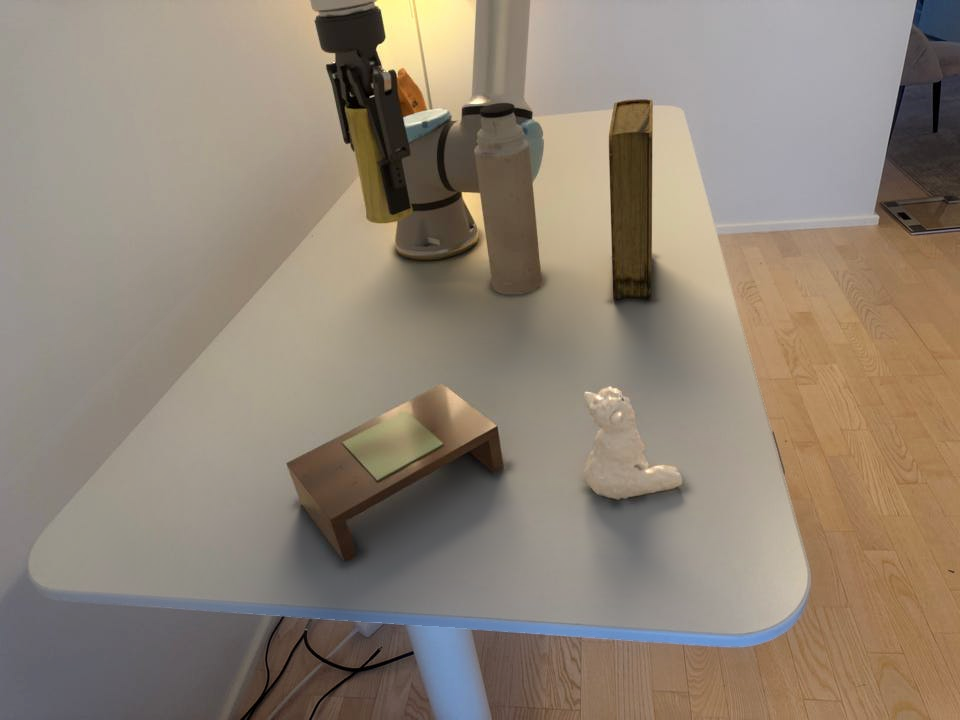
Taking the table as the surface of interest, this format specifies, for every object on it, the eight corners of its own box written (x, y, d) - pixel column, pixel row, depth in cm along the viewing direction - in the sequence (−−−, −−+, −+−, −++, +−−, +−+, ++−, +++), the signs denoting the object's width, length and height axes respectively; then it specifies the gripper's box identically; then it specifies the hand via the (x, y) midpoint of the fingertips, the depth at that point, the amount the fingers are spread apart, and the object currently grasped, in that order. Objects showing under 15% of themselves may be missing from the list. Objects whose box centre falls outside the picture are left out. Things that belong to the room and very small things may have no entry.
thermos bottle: (504, 269, 120) (483, 98, 105) (548, 273, 117) (533, 97, 102) (484, 292, 115) (459, 114, 99) (530, 297, 111) (511, 114, 96)
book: (618, 254, 120) (614, 101, 106) (651, 253, 118) (652, 98, 105) (613, 303, 107) (608, 135, 93) (651, 303, 105) (652, 132, 92)
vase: (367, 209, 96) (342, 100, 88) (412, 202, 96) (391, 92, 88) (365, 227, 91) (338, 113, 83) (413, 219, 91) (390, 105, 83)
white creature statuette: (686, 486, 74) (690, 393, 67) (623, 526, 71) (621, 432, 64) (623, 441, 81) (621, 353, 74) (563, 475, 78) (555, 386, 71)
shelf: (300, 503, 79) (285, 461, 76) (450, 423, 88) (442, 381, 84) (344, 562, 71) (329, 518, 68) (503, 467, 80) (497, 424, 77)
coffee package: (389, 181, 165) (369, 82, 153) (402, 163, 175) (384, 68, 163) (431, 178, 163) (413, 77, 151) (442, 160, 173) (426, 64, 161)
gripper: (283, 12, 85) (331, 197, 98) (354, 20, 72) (398, 233, 85) (339, 0, 88) (378, 180, 101) (417, 5, 75) (451, 213, 88)
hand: (387, 204), depth 93 cm, fingers closed on vase, 6 cm apart
